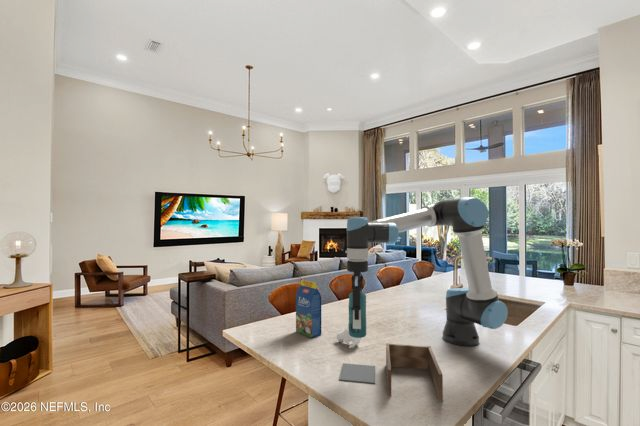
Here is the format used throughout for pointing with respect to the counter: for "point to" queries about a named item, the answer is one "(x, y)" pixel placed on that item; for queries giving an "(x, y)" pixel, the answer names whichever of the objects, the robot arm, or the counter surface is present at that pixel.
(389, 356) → the wooden u-frame
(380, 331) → the counter surface
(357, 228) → the robot arm
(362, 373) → the mat
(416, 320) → the counter surface
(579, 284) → the counter surface
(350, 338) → the white crumpled lump
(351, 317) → the beverage bottle
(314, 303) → the blue food package
